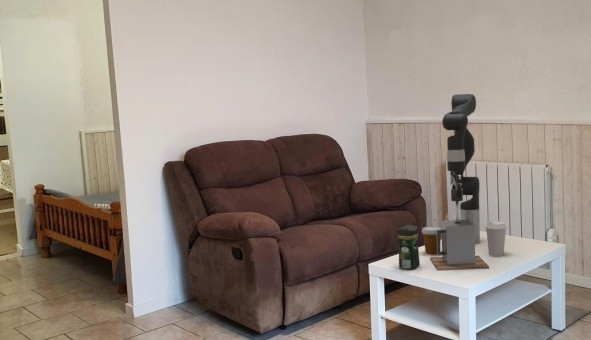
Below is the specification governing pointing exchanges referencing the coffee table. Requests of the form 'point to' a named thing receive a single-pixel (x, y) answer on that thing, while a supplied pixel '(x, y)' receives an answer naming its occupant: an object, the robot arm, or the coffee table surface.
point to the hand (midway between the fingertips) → (456, 196)
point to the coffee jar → (408, 247)
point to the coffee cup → (496, 237)
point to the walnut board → (441, 265)
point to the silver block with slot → (457, 242)
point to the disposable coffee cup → (430, 239)
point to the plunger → (456, 202)
